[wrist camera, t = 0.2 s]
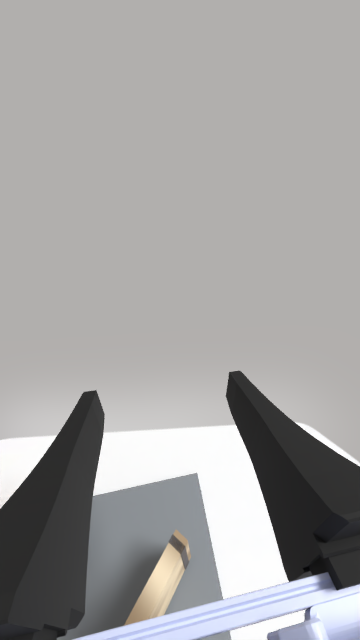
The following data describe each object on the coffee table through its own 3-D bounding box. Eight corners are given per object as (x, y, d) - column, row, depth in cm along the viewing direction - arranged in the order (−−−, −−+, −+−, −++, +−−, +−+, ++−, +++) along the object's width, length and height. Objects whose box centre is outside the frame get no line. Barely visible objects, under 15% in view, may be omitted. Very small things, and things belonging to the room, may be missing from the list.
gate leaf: (79, 799, 13) (43, 833, 10) (67, 769, 14) (31, 793, 11) (191, 557, 21) (188, 540, 18) (180, 546, 22) (175, 528, 19)
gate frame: (279, 878, 11) (312, 980, 8) (-80, 1026, 10) (-262, 1246, 6) (197, 474, 27) (194, 442, 24) (55, 505, 26) (28, 477, 22)
